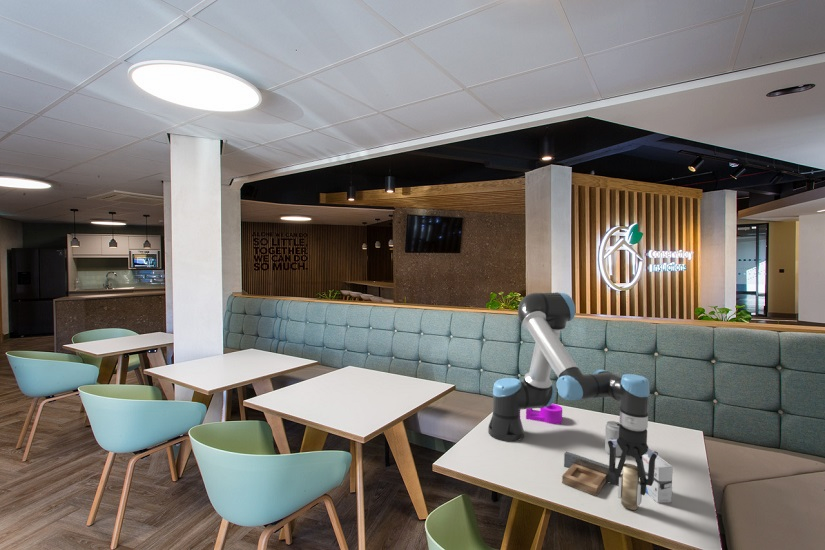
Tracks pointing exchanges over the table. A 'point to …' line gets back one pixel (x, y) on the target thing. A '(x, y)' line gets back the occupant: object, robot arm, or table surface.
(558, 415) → the tape dispenser
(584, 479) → the wooden square tray
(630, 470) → the dowel
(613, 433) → the beverage can
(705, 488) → the table surface
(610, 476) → the backstop rail
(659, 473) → the ink box
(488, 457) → the table surface
